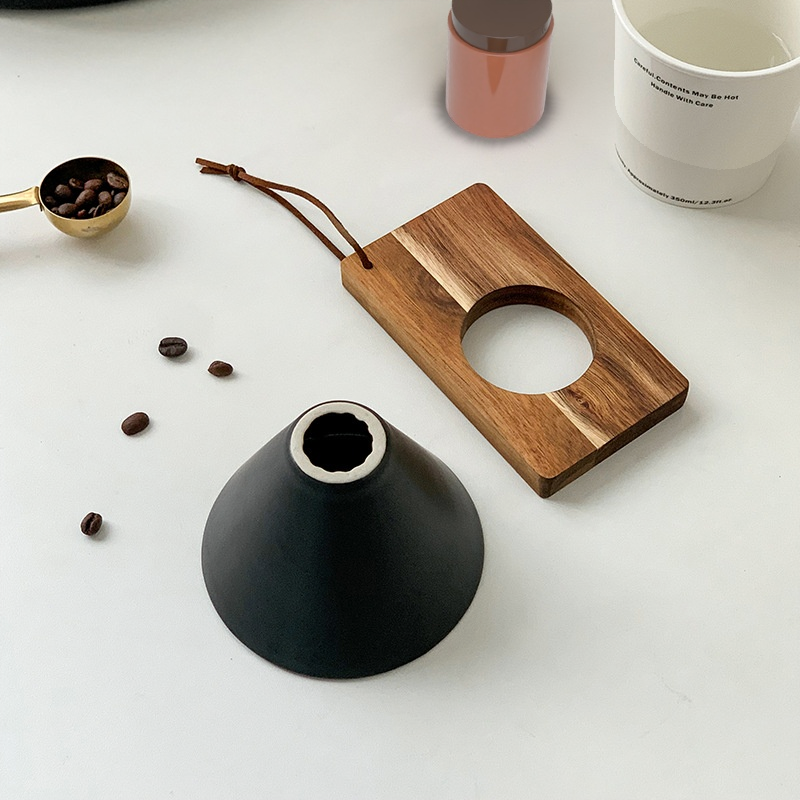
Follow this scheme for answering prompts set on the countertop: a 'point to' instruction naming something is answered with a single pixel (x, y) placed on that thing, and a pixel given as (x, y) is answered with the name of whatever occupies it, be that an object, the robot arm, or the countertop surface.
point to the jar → (498, 64)
